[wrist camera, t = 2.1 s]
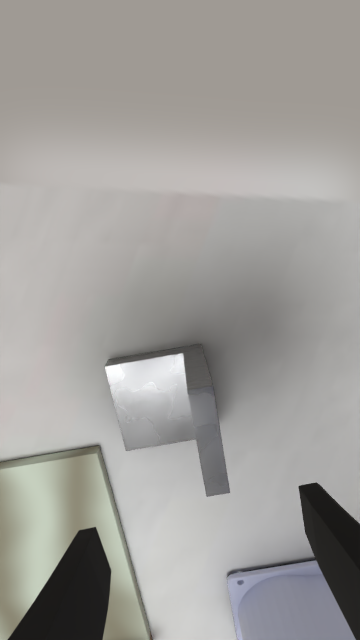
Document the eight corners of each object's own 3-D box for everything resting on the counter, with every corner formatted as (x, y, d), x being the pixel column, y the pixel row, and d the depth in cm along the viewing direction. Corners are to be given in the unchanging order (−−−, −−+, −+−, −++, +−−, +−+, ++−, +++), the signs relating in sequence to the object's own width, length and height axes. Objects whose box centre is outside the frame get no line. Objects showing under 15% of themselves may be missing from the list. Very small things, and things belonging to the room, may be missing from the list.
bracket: (200, 343, 21) (212, 385, 15) (214, 425, 22) (230, 492, 16) (108, 359, 21) (84, 407, 15) (128, 439, 22) (113, 512, 16)
